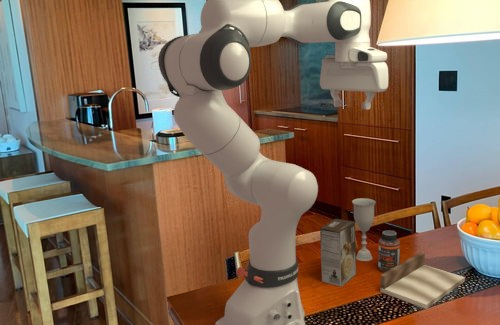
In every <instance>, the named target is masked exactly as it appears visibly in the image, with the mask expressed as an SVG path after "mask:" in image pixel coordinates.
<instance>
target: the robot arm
mask: <svg viewBox="0 0 500 325" xmlns="http://www.w3.org/2000/svg"><path fill="white" fill-rule="evenodd" d="M371 8H372V7H371V0H327V1H321V2H313V3H298V4H295V5H293V6H291V7H289V8H288V9H284V7H283V5H282V3H281V2H280V0H207V1H205V3H204V4H203V6H202V9H201V11H200V26H201V28H200V30H199V32H197V33H192V34H187V35H180V36H176V37H174V38H172V39H170V40H168V41H167V42H166V43H164V45H163V46H162V47H161V49H160V52H159V54H158V60H157V61H158V62H157V63H158V68H159V71H160V74H161V76H162V78H163V79H164V81H165V82H166V84H167V88H168V90H169V92H170V93H171V94H172V95H173V96H176V97H179V98H178V99H177V101H176V104H175V106H174V108H173V119H174V121H175V122H174V123H175V124H176V125H177V126H178V128H179V130H180V131H181V132H182V134H183V135H184V136H185V137H186V139H187V140H188V141H189V142H190V143H191V145H193V147H194V148H196V150H197V151H198V152H200V153H201V154H202V155H203V156H204V157H205V158H206V159H207V160H208V161H209V162H210V163H211V164H212V165H214V167H215V168H217V169H218V170H219V172H220V173H221V174H222V175H223V176H224V185H225V188H226V189H227V191H228V192H229V193H230V194H231V195H233V196H235V197H236V198H238V199H240V200H241V201H244V202H245V203H249V204H253V205H257V206H259V207H260V209H261V211H260V212H261V213H260V219H259V221H258V222H256V223H255V224H253V226H251V228H250V229H249V232H248V249H249V252H248V253H249V260H248V264H247V267H246V269H245V268H243V267H242V266H239V267H238V268H237V269H236V272H235V273H236V275H238V276H240V277H241V278H244V280H243V281H242V282H241V284H240V285H239V286H238V288H236V290H235V291H234V292H233V294H232V295H231V296H230V297H229V298H228V300H227V301H226V303H225V307H224V316H222V317H221V318H219V319H218V320H217V321H215V324H214V325H306V321H305V316H306V315H305V314H306V312H305V310H304V307H303V303H302V301H301V294H300V289H299V283H298V277H299V265H298V264H299V263H298V259H297V257H296V256H297V254H296V250H297V249H296V239H297V238H296V236H297V235H296V233H297V227H298V225H299V224H298V223H299V221H300V220H301V217H302V215H303V214H305V213H306V212H308V211H309V210H310V209H311V208H312V207H313V205H314V204H315V202H316V200H317V197H318V192H319V185H318V182H317V180H318V179H317V178H316V176H315V175H314V173H313V172H311V171H310V170H308V169H305V168H303V167H302V166H299V165H296V164H294V163H289V162H284V161H278V160H274V159H271V158H268V157H266V156H264V155H263V154H262V153H261V152H260V150H261V140H260V138H259V137H258V135H257V133H255V132H254V131H253V129H251V128H250V126H249V125H248V124H247V123H246V122H245V121H244V120H243V118H242V117H241V116H240V115H238V113H237V112H236V111H235V110H234V109H233V108H232V107H230V105H228V103H227V101H226V100H225V97H224V95H223V91H228V90H232V89H235V88H237V87H239V86H241V85H242V84H243V83H245V82H246V80H247V78H248V76H249V74H250V73H251V72H250V71H251V66H252V65H251V64H252V54H251V50H250V48H256V47H257V48H258V47H264V46H269V45H271V44H274V43H277V42H278V41H279V40H280V39H281V37H283V38H286V39H288V40H289V41H290V42H292V43H294V44H296V45H306V44H317V43H318V44H319V43H334V42H335V46H334V47H335V54H333V55H332V54H327V55H325V56H324V57H323V59H322V60H321V69H320V76H319V86H320V88H321V89H322V90H329V91H330V96H331V98H332V101H333V106H334V107H335V108H341V107H343V99H340V96H339V94H340V91H349V92H363V93H364V92H365V97H366V98H365V100H364V101H363V102H361V109H362V110H370V109H371V106H372V101H373V100H374V98H375V96H376V93H383V92H386V91H387V89H388V88H389V68H388V65H387V63H386V61H387V59H388V53H387V52H385V51H383V50H380V49H378V48H374V47H372V46H371V38H370V28H371V23H372V21H371V20H372V14H371V13H372V12H371Z"/></svg>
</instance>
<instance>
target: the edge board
mask: <svg viewBox="0 0 500 325" xmlns="http://www.w3.org/2000/svg"><path fill="white" fill-rule="evenodd" d="M425 256H426V255H425V252H423V251H420V252H418V253H417V254H415V255H413V256H411V257H410V258H407V259H406V260H405V261H402V262H401V263H399V265H397V266H396V267H394V268H392V269H390V270H389V271H387V272H382V273H381V274H380V293H383V294H386V295H387V296H390V297H393V298H396V299H398V300H401V301H404V302H406V303H409V304H411V305H413V306H416V307H420V308H421V309H425V310H427V309H429V308H430V307H432V306H433V305H434V304H436V302H438V301H440V300H441V299H442V298H444V297H445V296H446V295H448V294H449V293H450V292H452V291H453V290H455V289H457V287H460V286H461V285H462V284H463V283H464V282H466V277H465V276H462V275H458V274H456V273H452V272H449V271H445V270H442V269H439V268H436V267H433V266H430V265H426V264H425V258H426V257H425Z"/></svg>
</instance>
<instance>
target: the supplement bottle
mask: <svg viewBox="0 0 500 325" xmlns="http://www.w3.org/2000/svg"><path fill="white" fill-rule="evenodd" d="M397 234H398V233H397V232H396V231H395V230H383V231H382V233H381V238H379V240H378V246H377V249H378V251H377V257H378V258H377V261H378V262H377V267H378V270H380V272H382V273H385V272H387V271H389V270H390V269H392V268H394V267H396V266H397V265H399V264H400V259H401V258H400V257H401V256H400V252H401V250H400V249H401V242H400V239H398V238H397Z"/></svg>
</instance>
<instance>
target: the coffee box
mask: <svg viewBox="0 0 500 325" xmlns="http://www.w3.org/2000/svg"><path fill="white" fill-rule="evenodd" d="M319 232H320V233H319V234H320V259H321V260H320V263H321V264H320V265H321V266H320V267H321V281H322V283H326V284H329V285H334V286H338V287H343V286H344V285H345V284H347V283H348V282H349V281H350V280H351V279H352V278H354V276H356V274H357V265H356V264H357V259H356V256H357V254H356V222H355V221H354V220H353V221H352V220H346V219H340V218H334V219H332V220H331V221H329V222H327V223H326V224H325V225H323V226H322V227H320V229H319Z"/></svg>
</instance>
